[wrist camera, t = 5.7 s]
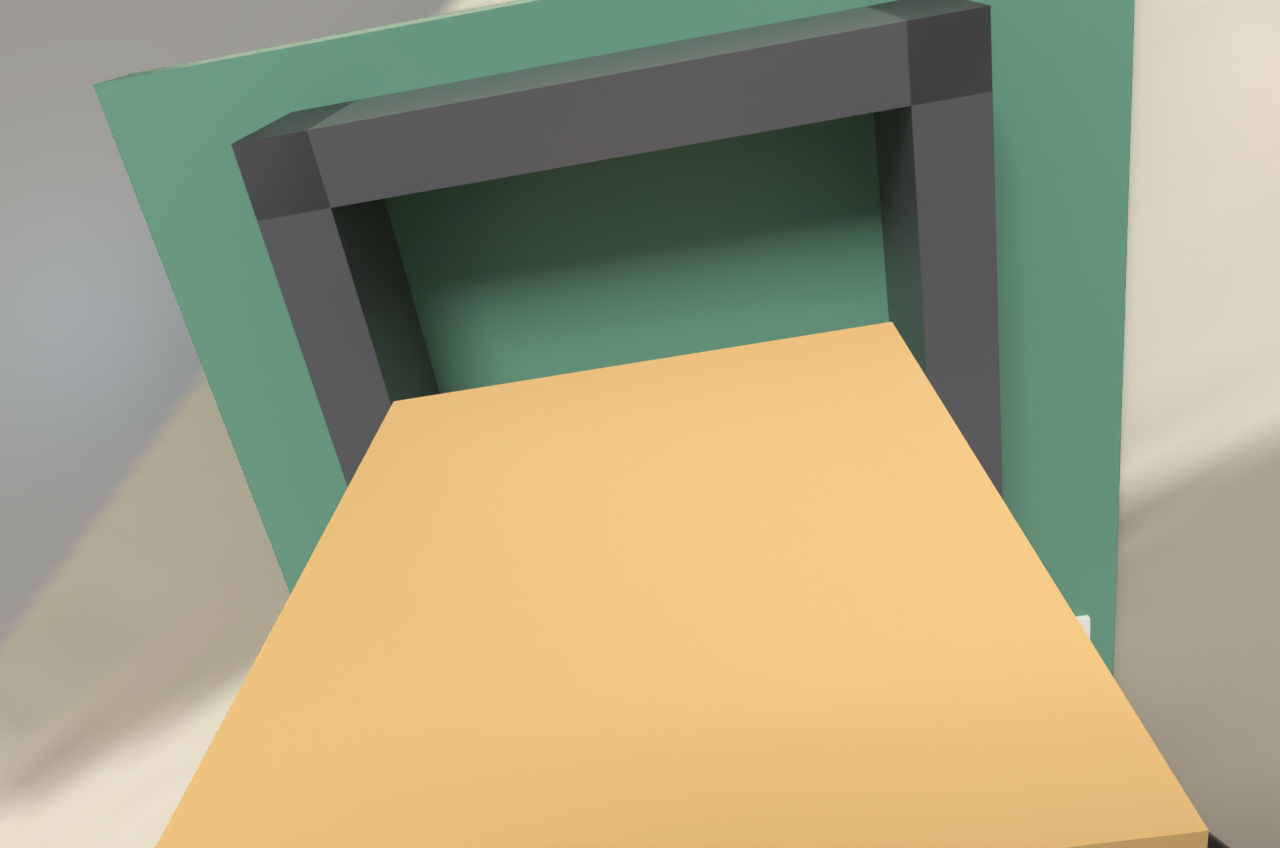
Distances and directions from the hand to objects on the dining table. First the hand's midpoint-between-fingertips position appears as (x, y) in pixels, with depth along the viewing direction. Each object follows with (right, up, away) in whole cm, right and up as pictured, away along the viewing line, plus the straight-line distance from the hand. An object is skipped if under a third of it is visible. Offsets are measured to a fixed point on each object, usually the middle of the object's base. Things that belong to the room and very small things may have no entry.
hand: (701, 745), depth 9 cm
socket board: (0, +3, +6) cm, 7 cm away
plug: (0, +1, +1) cm, 1 cm away
